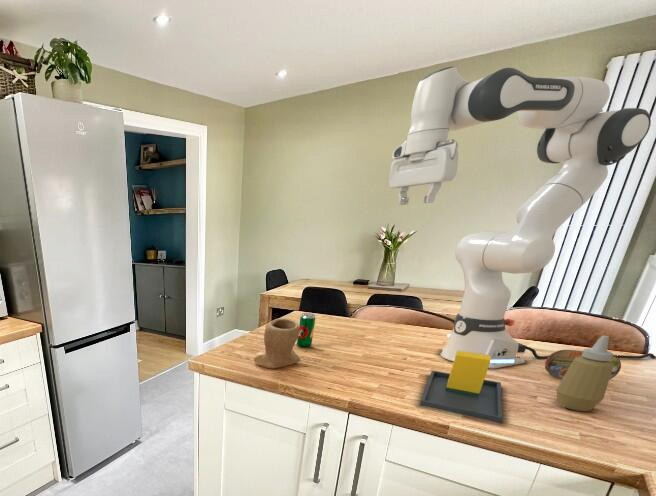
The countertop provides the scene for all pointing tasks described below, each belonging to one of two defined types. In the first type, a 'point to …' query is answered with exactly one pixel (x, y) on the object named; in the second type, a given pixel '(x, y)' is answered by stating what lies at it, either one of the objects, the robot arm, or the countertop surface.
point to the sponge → (468, 373)
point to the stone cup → (279, 344)
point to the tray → (464, 398)
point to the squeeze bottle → (586, 378)
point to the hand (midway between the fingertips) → (415, 203)
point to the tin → (564, 358)
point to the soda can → (306, 330)
